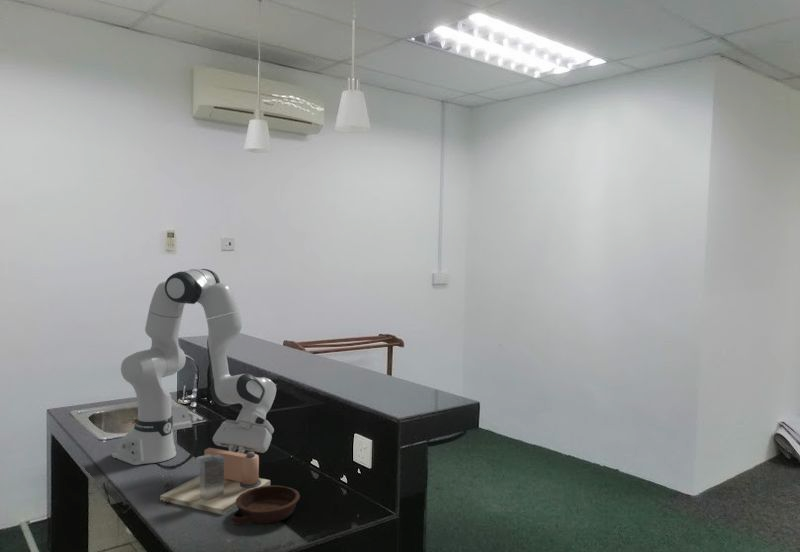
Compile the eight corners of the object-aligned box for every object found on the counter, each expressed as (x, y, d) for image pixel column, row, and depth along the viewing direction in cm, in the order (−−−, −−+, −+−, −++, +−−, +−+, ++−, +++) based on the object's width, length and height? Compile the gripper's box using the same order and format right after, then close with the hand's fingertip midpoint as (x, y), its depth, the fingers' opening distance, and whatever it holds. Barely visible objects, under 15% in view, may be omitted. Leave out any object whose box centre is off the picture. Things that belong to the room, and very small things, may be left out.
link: (261, 480, 185) (262, 451, 184) (252, 486, 180) (252, 456, 180) (212, 470, 192) (212, 442, 192) (201, 475, 187) (201, 447, 187)
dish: (317, 510, 169) (317, 493, 169) (254, 538, 153) (254, 520, 152) (279, 493, 181) (279, 477, 180) (216, 518, 164) (216, 500, 163)
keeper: (215, 489, 179) (215, 452, 178) (223, 494, 175) (223, 456, 175) (196, 495, 174) (196, 457, 174) (204, 500, 171) (204, 461, 170)
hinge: (151, 434, 235) (148, 408, 237) (148, 435, 238) (145, 410, 241) (193, 426, 245) (190, 402, 247) (189, 427, 249) (187, 404, 251)
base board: (160, 500, 174) (160, 494, 174) (212, 473, 195) (212, 467, 195) (222, 514, 165) (222, 508, 165) (270, 484, 186) (270, 479, 186)
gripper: (220, 414, 202) (201, 451, 193) (271, 421, 194) (253, 459, 186) (228, 423, 206) (210, 460, 197) (278, 430, 199) (261, 468, 190)
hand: (231, 460), depth 191 cm, fingers closed
